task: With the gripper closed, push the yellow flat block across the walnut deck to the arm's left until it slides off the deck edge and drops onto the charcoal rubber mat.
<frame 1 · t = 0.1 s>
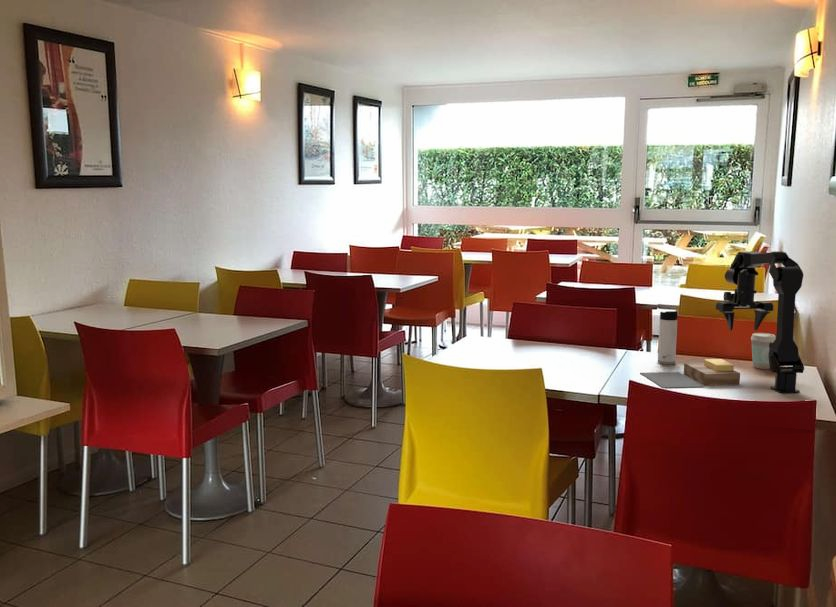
hand: (743, 330, 265), 15 cm above the table, fingers open, 9 cm apart
yellow flat block: (718, 367, 254), point 4 cm above the table, touching deck
travel mug: (666, 363, 278), on the table
mat: (671, 380, 253), on the table
deck: (710, 379, 254), on the table
coffee cup: (761, 367, 272), on the table
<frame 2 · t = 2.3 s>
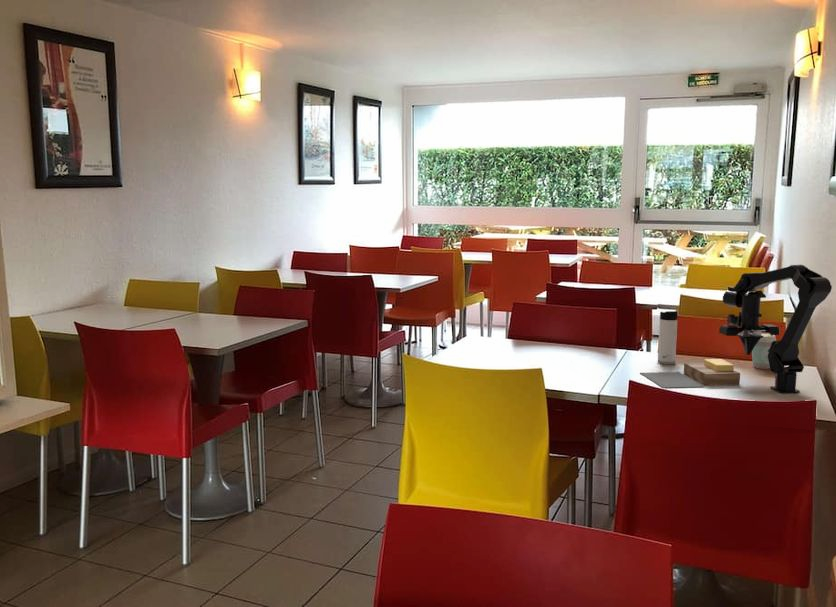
hand: (747, 354, 254), 8 cm above the table, fingers closed
nothing on the table moved.
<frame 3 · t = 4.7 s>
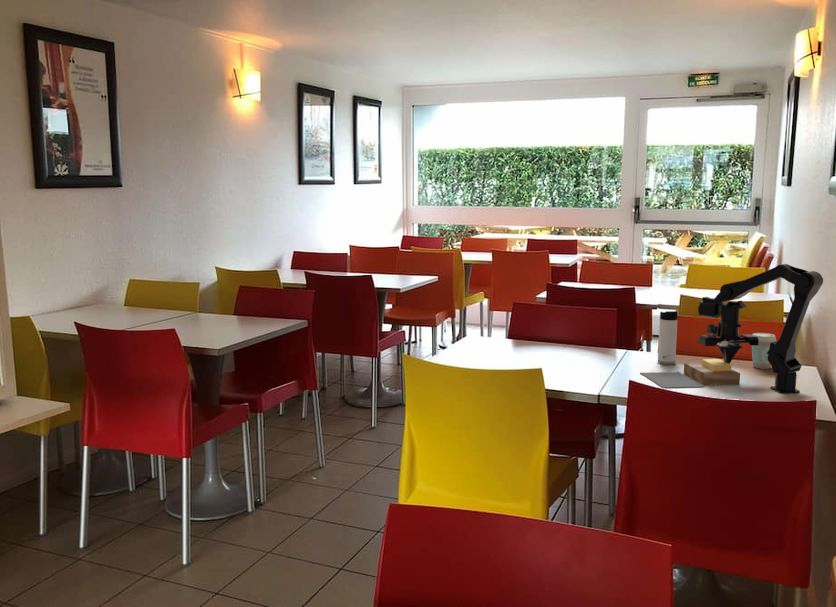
hand: (727, 364, 254), 5 cm above the table, fingers closed
yellow flat block: (716, 367, 254), point 4 cm above the table, touching gripper
everything else where it was.
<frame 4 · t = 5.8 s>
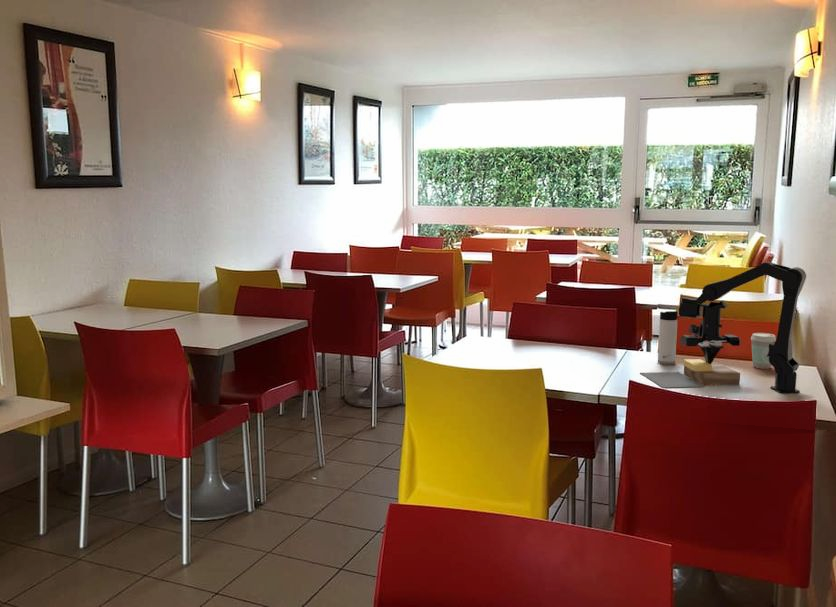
hand: (708, 365, 253), 5 cm above the table, fingers closed
yellow flat block: (697, 368, 253), point 4 cm above the table, touching gripper
everything else where it was.
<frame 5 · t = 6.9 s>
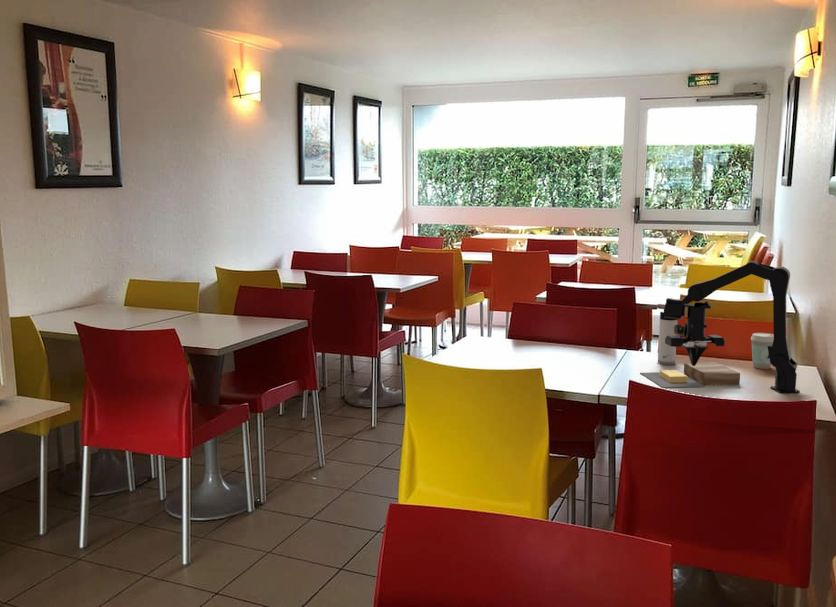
hand: (693, 365, 253), 5 cm above the table, fingers closed
yellow flat block: (673, 373, 253), point 2 cm above the table, tilted 180°, touching mat
everything else where it was.
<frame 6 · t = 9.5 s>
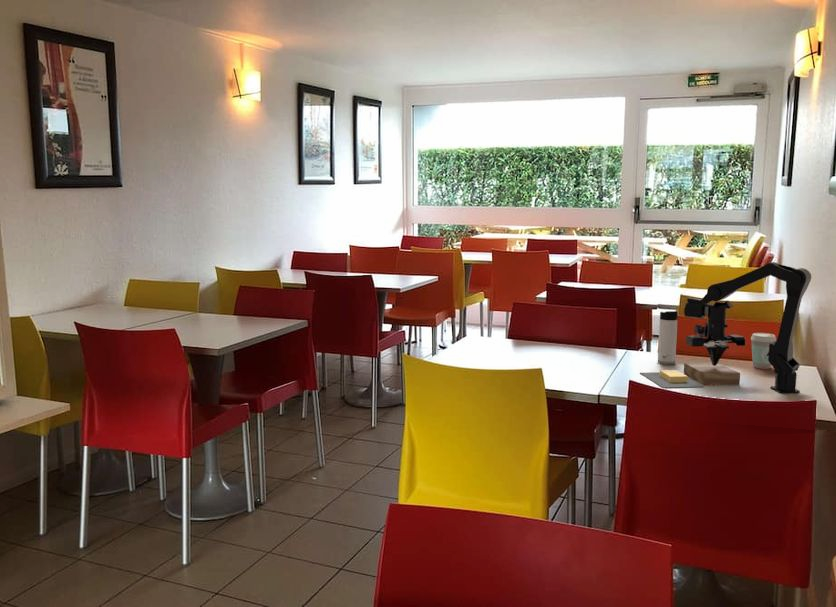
hand: (714, 365, 253), 5 cm above the table, fingers closed
nothing on the table moved.
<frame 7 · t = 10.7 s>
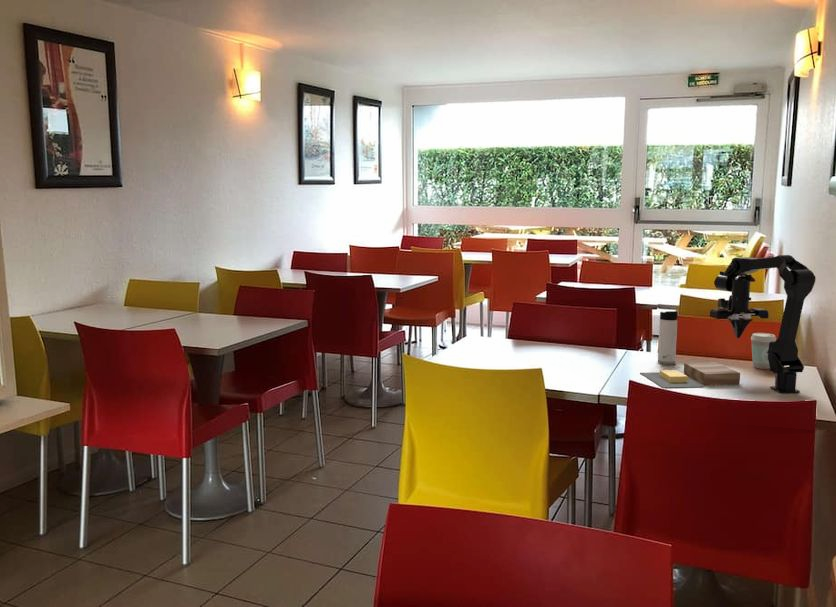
hand: (737, 338, 259), 13 cm above the table, fingers closed
nothing on the table moved.
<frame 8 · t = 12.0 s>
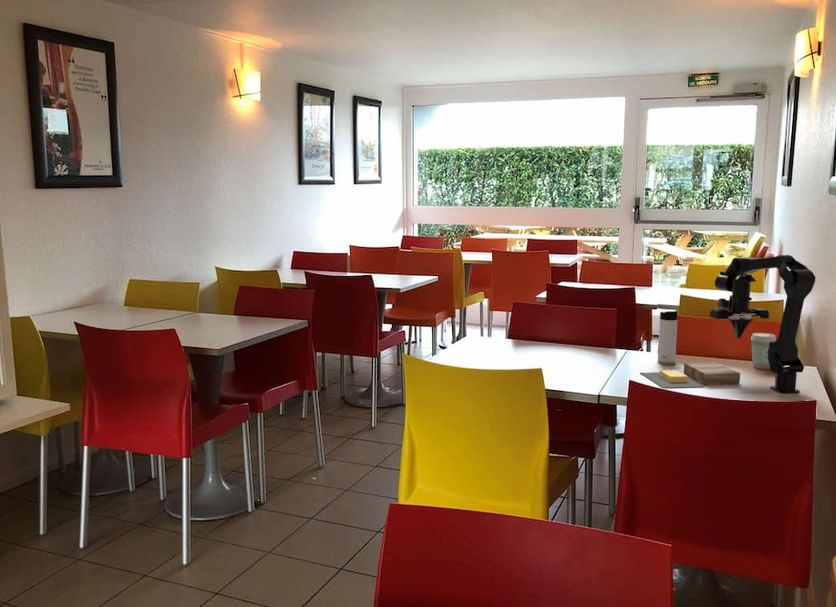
hand: (738, 338, 259), 13 cm above the table, fingers closed
nothing on the table moved.
at the end: yellow flat block point 2.3 cm above the table; yellow flat block inside the target area on the mat (1.0 cm from its centre), point 2.3 cm above the mat's base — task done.
